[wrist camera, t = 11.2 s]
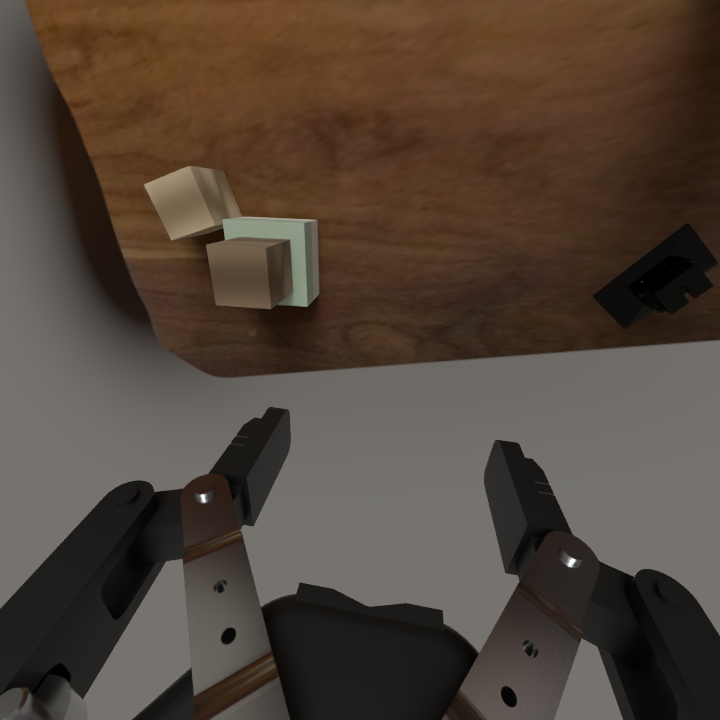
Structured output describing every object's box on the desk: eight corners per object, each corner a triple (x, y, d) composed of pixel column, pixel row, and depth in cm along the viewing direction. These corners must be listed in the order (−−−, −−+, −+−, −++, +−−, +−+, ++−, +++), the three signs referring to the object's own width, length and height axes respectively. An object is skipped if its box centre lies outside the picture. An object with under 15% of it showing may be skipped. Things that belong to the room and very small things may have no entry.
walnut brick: (240, 236, 32) (205, 244, 26) (290, 239, 31) (265, 247, 26) (246, 288, 34) (215, 304, 29) (293, 291, 33) (271, 309, 28)
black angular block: (612, 340, 37) (637, 359, 33) (571, 297, 36) (592, 311, 31) (736, 255, 32) (784, 264, 28) (694, 200, 30) (738, 201, 26)
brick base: (245, 216, 36) (222, 219, 31) (317, 219, 35) (304, 223, 30) (253, 289, 39) (233, 301, 35) (319, 294, 38) (307, 306, 34)
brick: (183, 186, 35) (143, 184, 30) (223, 170, 34) (189, 165, 29) (205, 234, 37) (171, 240, 32) (244, 221, 36) (215, 225, 31)
